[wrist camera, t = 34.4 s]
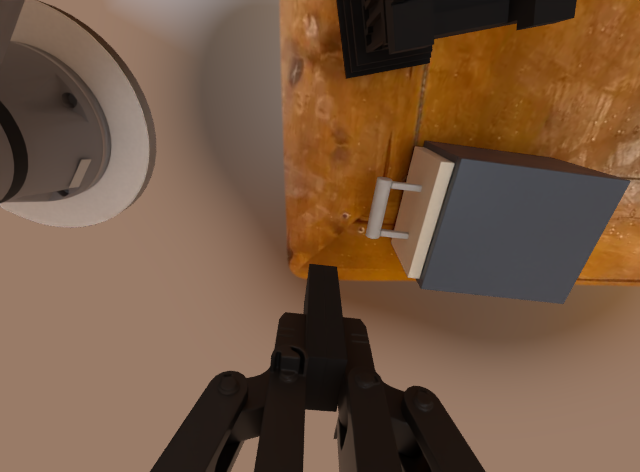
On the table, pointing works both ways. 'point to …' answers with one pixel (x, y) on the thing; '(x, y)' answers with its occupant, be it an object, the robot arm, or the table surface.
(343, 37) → the chess piece
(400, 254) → the drawer
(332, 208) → the table surface
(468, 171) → the cabinet
